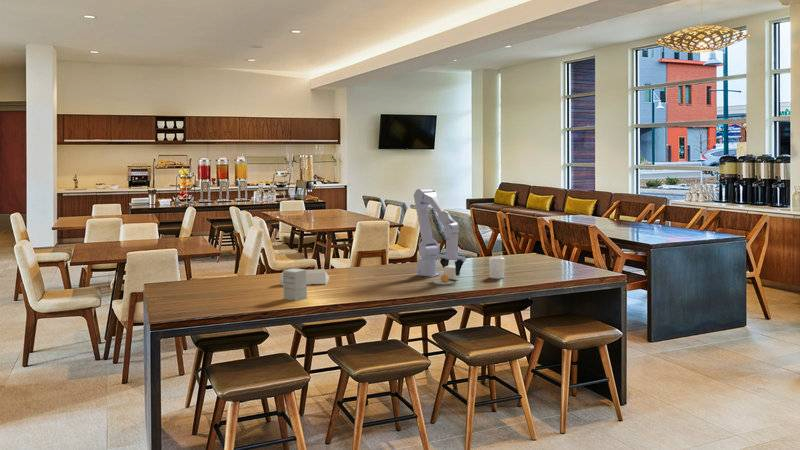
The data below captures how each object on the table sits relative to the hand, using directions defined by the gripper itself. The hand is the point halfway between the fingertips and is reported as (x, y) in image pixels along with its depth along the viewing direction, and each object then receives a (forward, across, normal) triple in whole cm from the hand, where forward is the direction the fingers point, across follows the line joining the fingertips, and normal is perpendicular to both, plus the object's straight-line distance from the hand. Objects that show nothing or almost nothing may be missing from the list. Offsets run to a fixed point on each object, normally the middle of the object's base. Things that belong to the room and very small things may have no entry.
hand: (451, 274), depth 354 cm
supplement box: (+3, -36, -74) cm, 82 cm away
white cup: (+3, +16, +17) cm, 24 cm away
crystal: (+3, -55, -46) cm, 72 cm away
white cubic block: (+2, 0, 0) cm, 2 cm away
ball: (+1, 0, -8) cm, 8 cm away
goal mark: (+3, 0, -8) cm, 8 cm away
